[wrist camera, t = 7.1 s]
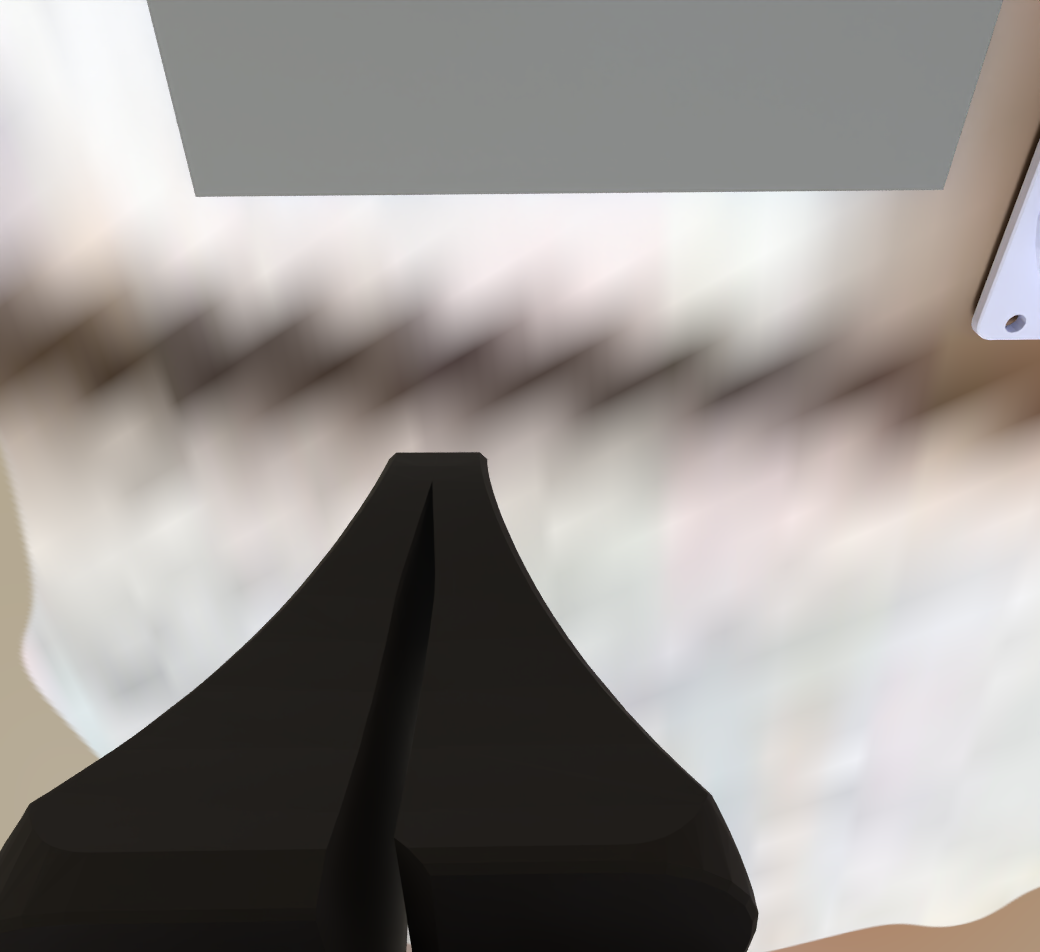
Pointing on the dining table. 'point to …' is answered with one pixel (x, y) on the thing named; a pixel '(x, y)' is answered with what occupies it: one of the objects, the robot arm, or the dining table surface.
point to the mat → (569, 94)
